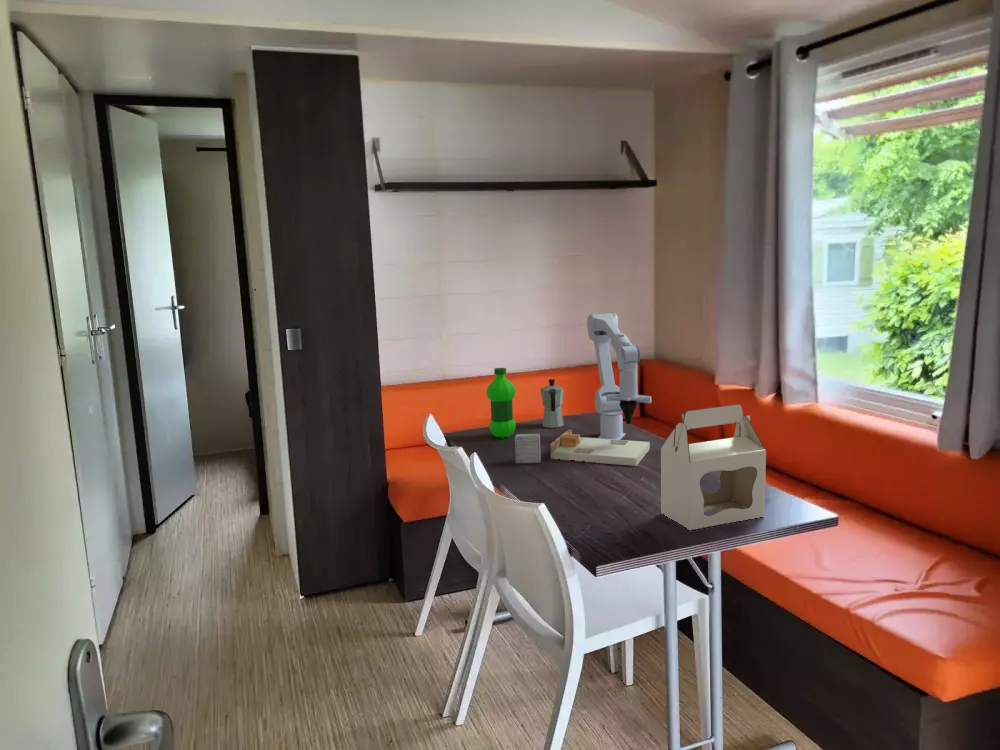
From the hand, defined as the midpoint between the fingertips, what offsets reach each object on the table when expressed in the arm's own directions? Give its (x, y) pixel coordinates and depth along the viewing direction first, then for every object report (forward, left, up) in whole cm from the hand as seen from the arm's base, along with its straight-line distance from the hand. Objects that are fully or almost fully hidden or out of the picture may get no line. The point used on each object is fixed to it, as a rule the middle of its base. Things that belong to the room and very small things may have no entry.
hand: (628, 423), depth 247 cm
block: (+6, -18, -7) cm, 20 cm away
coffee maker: (-24, -35, -10) cm, 44 cm away
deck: (+6, -8, -9) cm, 14 cm away
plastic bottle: (-6, -48, -10) cm, 49 cm away
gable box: (+51, +34, -10) cm, 61 cm away
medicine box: (+20, -28, -10) cm, 36 cm away
